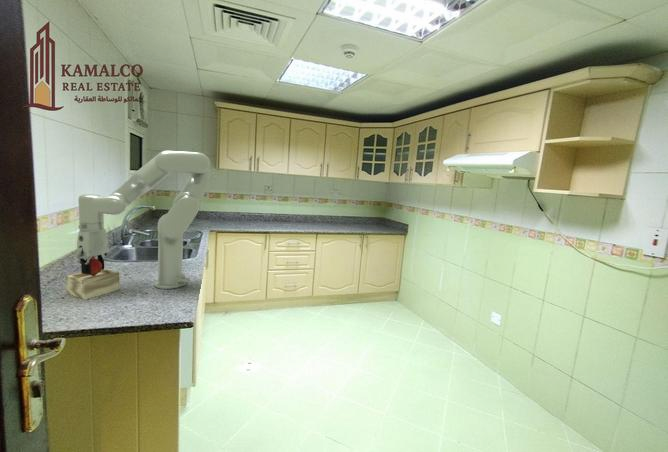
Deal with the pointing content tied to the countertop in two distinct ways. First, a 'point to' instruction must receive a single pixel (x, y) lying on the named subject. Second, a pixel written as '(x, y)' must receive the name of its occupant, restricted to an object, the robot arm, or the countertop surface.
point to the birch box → (92, 284)
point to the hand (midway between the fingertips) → (93, 271)
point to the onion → (95, 266)
